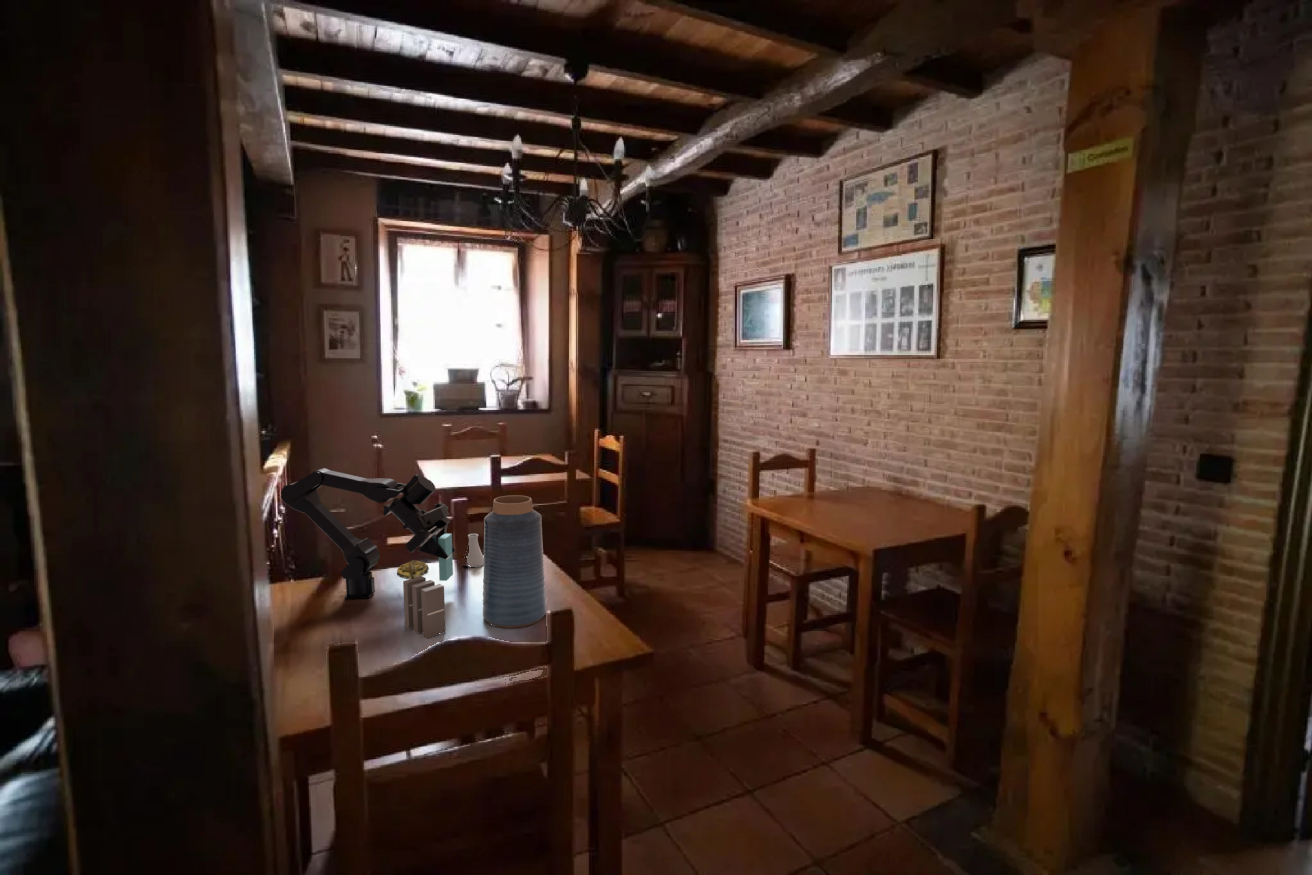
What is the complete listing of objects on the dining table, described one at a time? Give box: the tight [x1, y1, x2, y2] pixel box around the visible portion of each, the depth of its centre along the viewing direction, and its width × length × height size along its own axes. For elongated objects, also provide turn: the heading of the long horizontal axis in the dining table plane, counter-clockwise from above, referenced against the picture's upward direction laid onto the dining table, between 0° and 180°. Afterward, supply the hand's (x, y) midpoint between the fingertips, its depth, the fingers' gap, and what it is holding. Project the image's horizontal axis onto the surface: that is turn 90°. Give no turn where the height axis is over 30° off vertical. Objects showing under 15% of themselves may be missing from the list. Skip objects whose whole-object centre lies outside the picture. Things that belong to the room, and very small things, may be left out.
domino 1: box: [402, 576, 427, 630], centre depth 166 cm, size 2×5×12 cm, turn 140°
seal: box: [396, 560, 429, 580], centre depth 206 cm, size 9×5×15 cm
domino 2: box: [412, 579, 436, 635], centre depth 163 cm, size 2×5×12 cm, turn 140°
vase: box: [482, 494, 547, 629], centre depth 170 cm, size 16×16×32 cm
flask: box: [466, 533, 484, 569], centre depth 212 cm, size 7×7×10 cm
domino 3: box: [421, 583, 446, 639], centre depth 160 cm, size 2×5×12 cm, turn 140°
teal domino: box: [438, 533, 454, 582], centre depth 183 cm, size 2×5×12 cm, turn 177°
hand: (450, 554), depth 183 cm, fingers closed on teal domino, 5 cm apart
